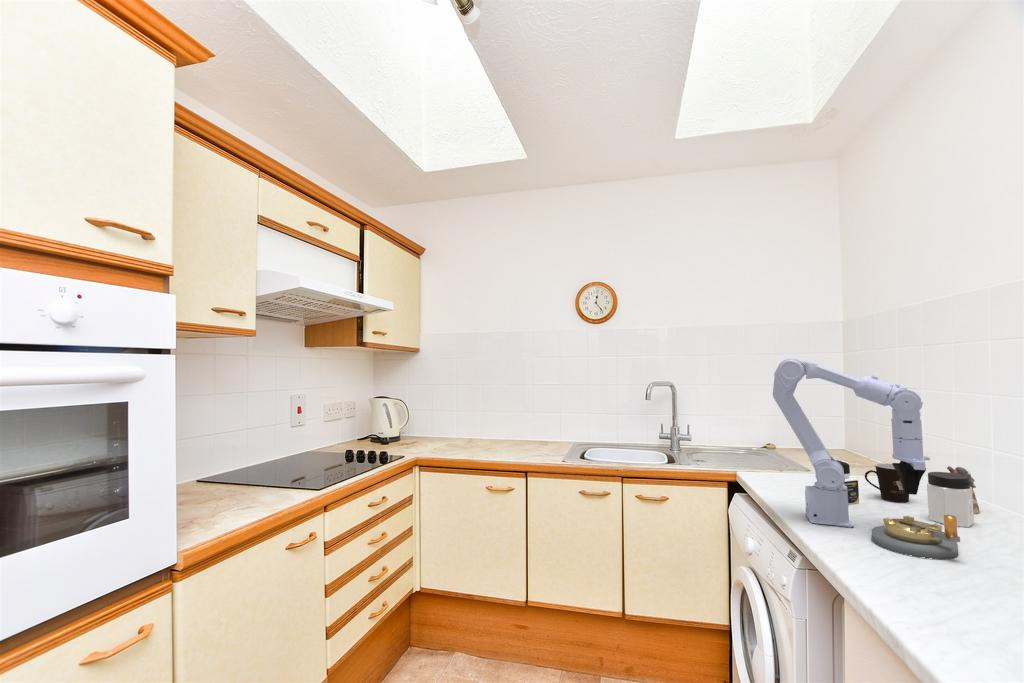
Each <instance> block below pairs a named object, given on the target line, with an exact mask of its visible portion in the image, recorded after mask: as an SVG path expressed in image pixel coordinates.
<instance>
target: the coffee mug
mask: <svg viewBox="0 0 1024 683" xmlns="http://www.w3.org/2000/svg"><path fill="white" fill-rule="evenodd" d="M874 465H875V466H874V467H875V470H873V469H871V470H867V471H866V472H865V473H864V479H865V481H866V482H867V483H868V484H869V485H871V486H872V487H874V488H876V489H877V490H879V491H880V497H881V498H880V499H881V500H884V501H886V502H890V503H895V504H896V503H897V504H898V503H899V504H907V503H909V502H910V494H906V493H904V491H903V488H902V484H901V481H900V478H899V476H898V473H897V471H896V470H895V468H894V466H893V465H892V463H875V464H874ZM870 473H874V474H876V476H877V482H878V486H877V485H876V484H874V483H872V482H871V480H869V478H868V475H869V474H870Z"/></svg>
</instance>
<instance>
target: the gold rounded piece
mask: <svg viewBox="0 0 1024 683" xmlns="http://www.w3.org/2000/svg"><path fill="white" fill-rule="evenodd" d="M902 517H903V518H889V517H885V518H883V519H882V522H883V523H884V524H883V526H884V528H885V534H887V535H888V536H890V537H892V538H895V539H898V540H901V541H905V542H910V543H916V544H924V545H936V544H941V543H942V539H944V540H947V541H950V542H953V543H955V542H957V543H961V537H960V536H958V526H957V517H955V516H951V515H944V524H943V525H944V526H943V525H942V524H937V523H928V522H925V521H920V520H916V519H915V517H913V516H910V515H903V516H902ZM943 527H944V531H942V530H943Z"/></svg>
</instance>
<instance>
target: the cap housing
mask: <svg viewBox="0 0 1024 683" xmlns="http://www.w3.org/2000/svg"><path fill="white" fill-rule="evenodd" d="M870 530H871V532H870V533H871V540H872V542H873V543H874V544H876V546H879V547H881V548H883V549H886V550H888V551H890V552H894V553H897V552H898V553H897V554H901V553H902V555H905V554H907V555H906V556H909V555H912V556H911V557H914V556H916V557H915V558H920V557H925V558H924V559H927V558H932V559H931V560H951V559H952V560H953V559H955V558H957V557H959V546H958V545H959V544H958V542H955V543H953V542H950V541H947V540H944V539H942V543H941V544H936V545H924V544H916V543H910V542H905V541H901V540H898V539H895V538H892V537H890V536H888V535H887V534H885V528H884V525H878V526H875V527H873V528H871V529H870Z"/></svg>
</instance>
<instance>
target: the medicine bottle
mask: <svg viewBox="0 0 1024 683" xmlns="http://www.w3.org/2000/svg"><path fill="white" fill-rule="evenodd" d="M835 460H836V461H837V462H839V463H840V464H841V465H842V467H843V469H844V476H845V482H844V485H845V486H847V493H848V505H853V504H859V503H860V494H859V493H860V492H859V490H860V489H859V480H858V478H855V477H851V467H850V466H851V465H850V463H849V462H847V461H845V460H840V459H835Z"/></svg>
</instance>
